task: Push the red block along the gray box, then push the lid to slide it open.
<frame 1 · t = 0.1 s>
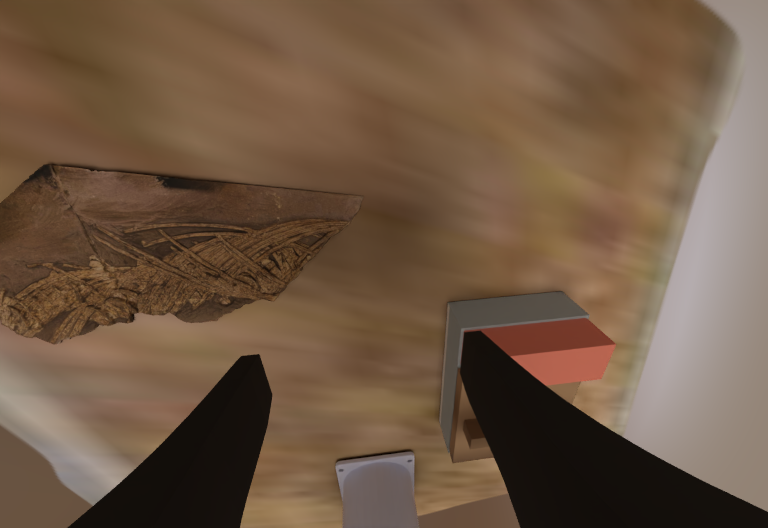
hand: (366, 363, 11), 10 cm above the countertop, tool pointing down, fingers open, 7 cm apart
wooden fragment: (160, 246, 18), on the countertop
gray box: (493, 363, 26), on the countertop
red block: (522, 340, 21), point 3 cm above the countertop, touching gray box
lid: (515, 421, 23), point 4 cm above the countertop, slide at 0.0 cm
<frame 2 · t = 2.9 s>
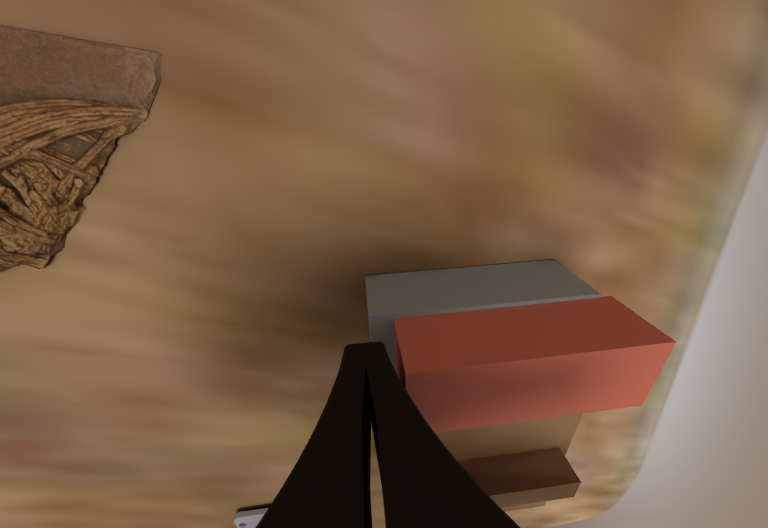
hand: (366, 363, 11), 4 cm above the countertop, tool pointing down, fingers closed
gray box: (451, 374, 17), on the countertop
red block: (499, 337, 12), point 3 cm above the countertop, touching gripper, gray box
lid: (478, 471, 14), point 4 cm above the countertop, slide at 0.0 cm
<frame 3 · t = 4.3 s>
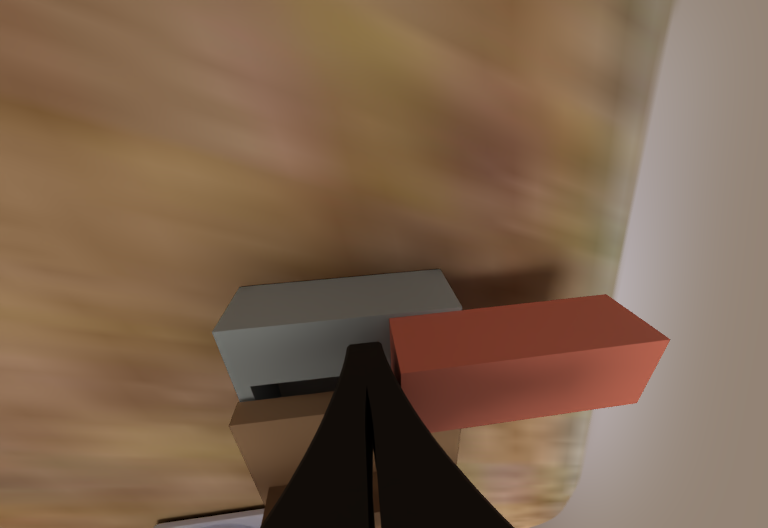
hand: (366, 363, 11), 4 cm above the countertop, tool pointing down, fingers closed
gray box: (355, 385, 17), on the countertop
red block: (495, 336, 12), point 3 cm above the countertop, touching gripper, gray box
lid: (360, 488, 13), point 4 cm above the countertop, slide at 0.0 cm
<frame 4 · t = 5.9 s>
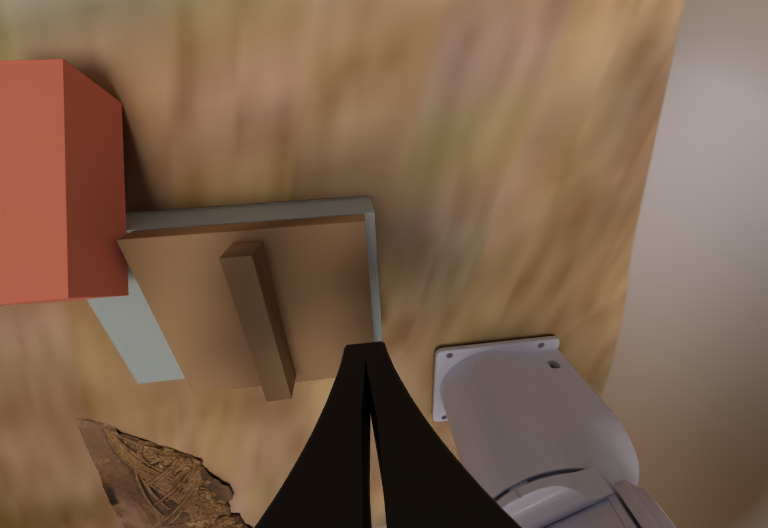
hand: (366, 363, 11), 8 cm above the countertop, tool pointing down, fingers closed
wooden fragment: (178, 496, 28), on the countertop
gray box: (259, 277, 18), on the countertop
red block: (88, 199, 13), point 2 cm above the countertop, tilted 31°, touching gray box
lid: (267, 320, 14), point 4 cm above the countertop, slide at 0.0 cm
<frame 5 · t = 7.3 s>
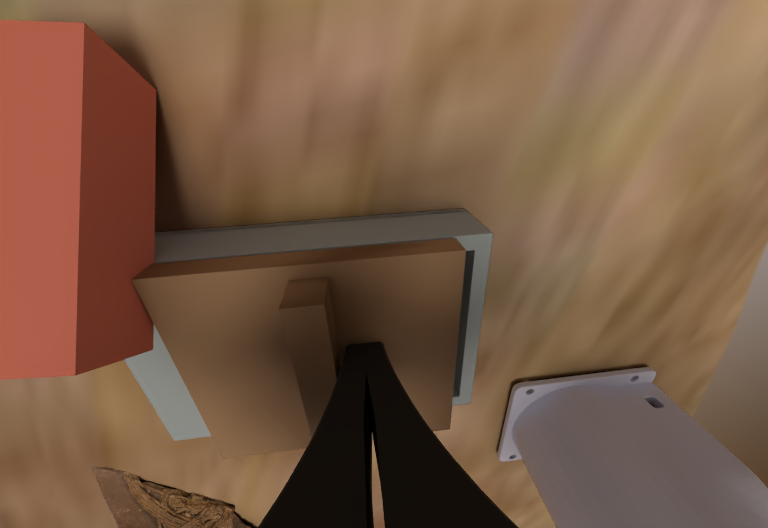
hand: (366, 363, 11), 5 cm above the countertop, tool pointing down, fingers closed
gray box: (319, 307, 15), on the countertop
red block: (105, 217, 10), point 2 cm above the countertop, tilted 31°, touching lid
lid: (325, 376, 11), point 4 cm above the countertop, slide at 0.9 cm, touching gripper, red block
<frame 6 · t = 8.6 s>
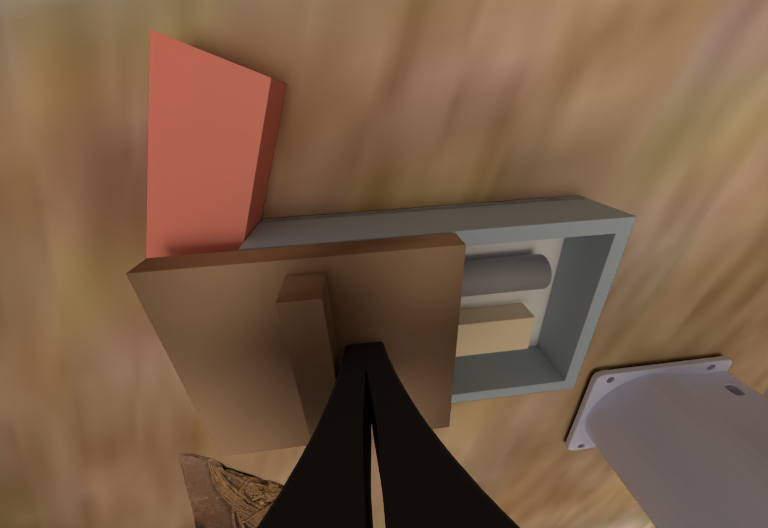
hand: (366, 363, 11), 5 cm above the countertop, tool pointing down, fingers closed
gray box: (425, 293, 15), on the countertop
red block: (228, 186, 12), on the countertop
lid: (323, 372, 11), point 4 cm above the countertop, slide at 6.3 cm, touching gripper
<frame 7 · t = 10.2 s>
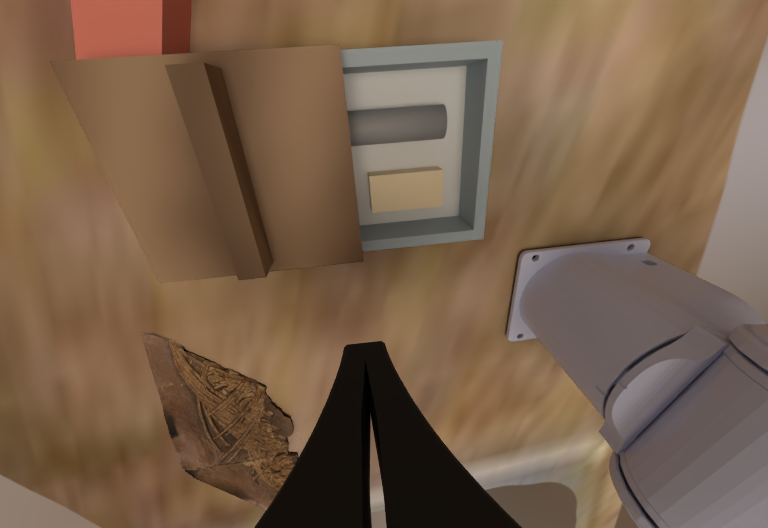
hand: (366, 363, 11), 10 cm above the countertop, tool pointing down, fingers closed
wooden fragment: (235, 433, 27), on the countertop
gray box: (348, 157, 17), on the countertop
red block: (156, 38, 14), on the countertop
lid: (234, 181, 12), point 4 cm above the countertop, slide at 6.3 cm
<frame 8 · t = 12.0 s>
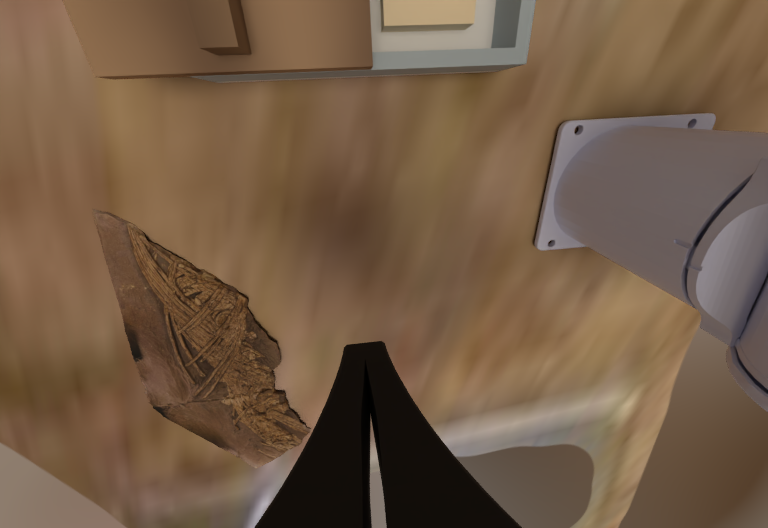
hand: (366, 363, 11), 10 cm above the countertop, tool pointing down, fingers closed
wooden fragment: (213, 363, 23), on the countertop
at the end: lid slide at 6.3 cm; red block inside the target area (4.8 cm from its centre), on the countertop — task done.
